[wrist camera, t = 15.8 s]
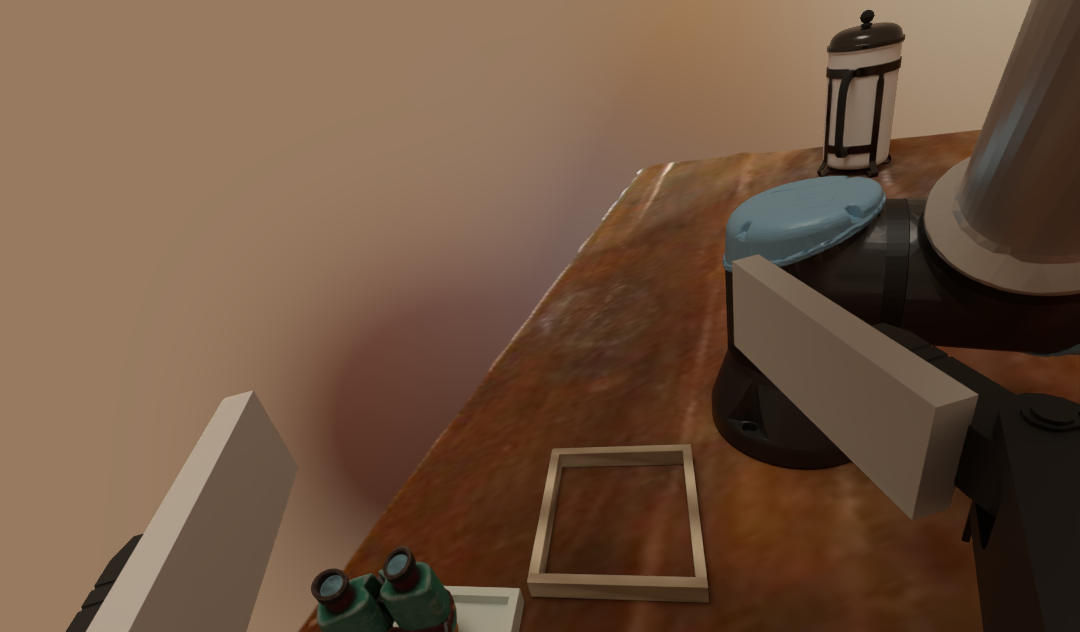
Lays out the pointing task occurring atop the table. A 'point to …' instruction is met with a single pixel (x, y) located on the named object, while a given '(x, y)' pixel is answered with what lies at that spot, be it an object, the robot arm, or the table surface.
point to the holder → (617, 584)
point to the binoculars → (385, 599)
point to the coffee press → (861, 95)
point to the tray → (487, 608)
